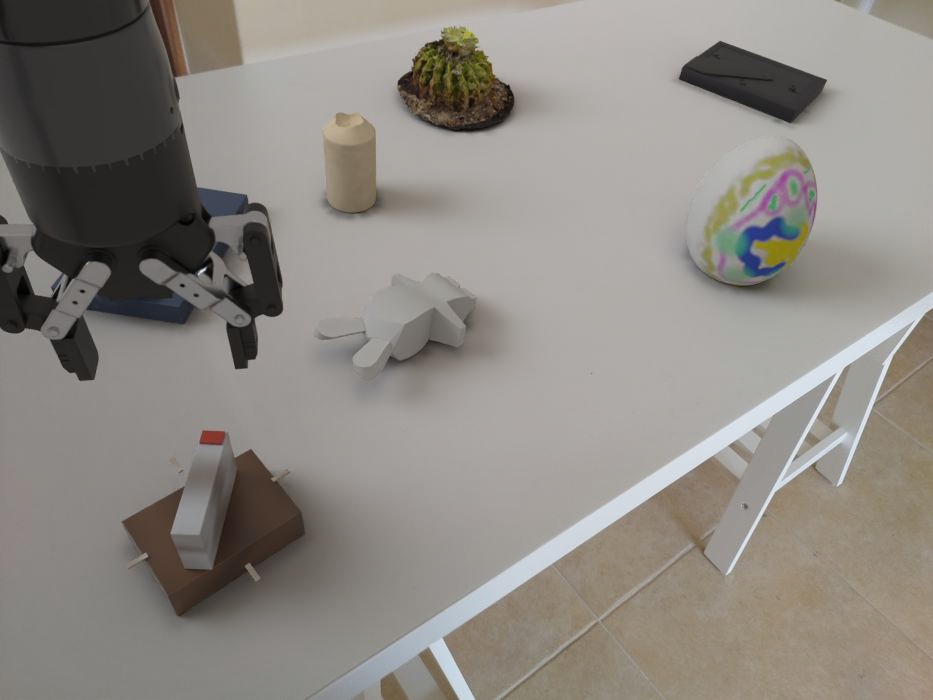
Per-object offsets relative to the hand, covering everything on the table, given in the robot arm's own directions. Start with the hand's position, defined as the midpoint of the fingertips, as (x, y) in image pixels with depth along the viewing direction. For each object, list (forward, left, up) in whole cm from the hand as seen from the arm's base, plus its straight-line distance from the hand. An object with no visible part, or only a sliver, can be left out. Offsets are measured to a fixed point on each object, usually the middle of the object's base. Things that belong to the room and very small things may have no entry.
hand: (168, 364), depth 44 cm
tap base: (-1, -3, -16) cm, 16 cm away
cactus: (+56, +37, -16) cm, 69 cm away
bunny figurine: (+22, +5, -16) cm, 28 cm away
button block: (+10, +29, -16) cm, 35 cm away
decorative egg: (+58, -7, -16) cm, 61 cm away
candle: (+31, +26, -16) cm, 44 cm away
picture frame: (+97, +16, -16) cm, 100 cm away
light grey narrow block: (-1, -2, -13) cm, 13 cm away
